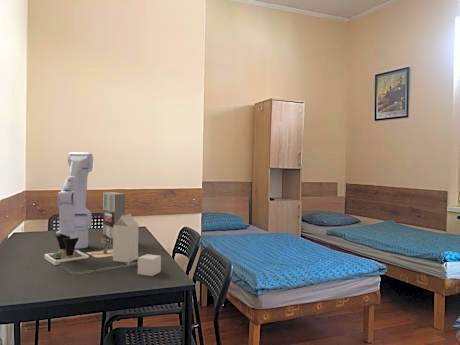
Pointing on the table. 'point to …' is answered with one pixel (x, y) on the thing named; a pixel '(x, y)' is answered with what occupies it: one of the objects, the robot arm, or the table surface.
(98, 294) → the table surface
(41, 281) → the table surface
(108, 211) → the tall grey upright box
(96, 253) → the tan base plate
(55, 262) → the tray
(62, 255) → the collar
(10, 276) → the table surface
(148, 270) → the white cube
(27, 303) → the table surface
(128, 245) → the milk carton
